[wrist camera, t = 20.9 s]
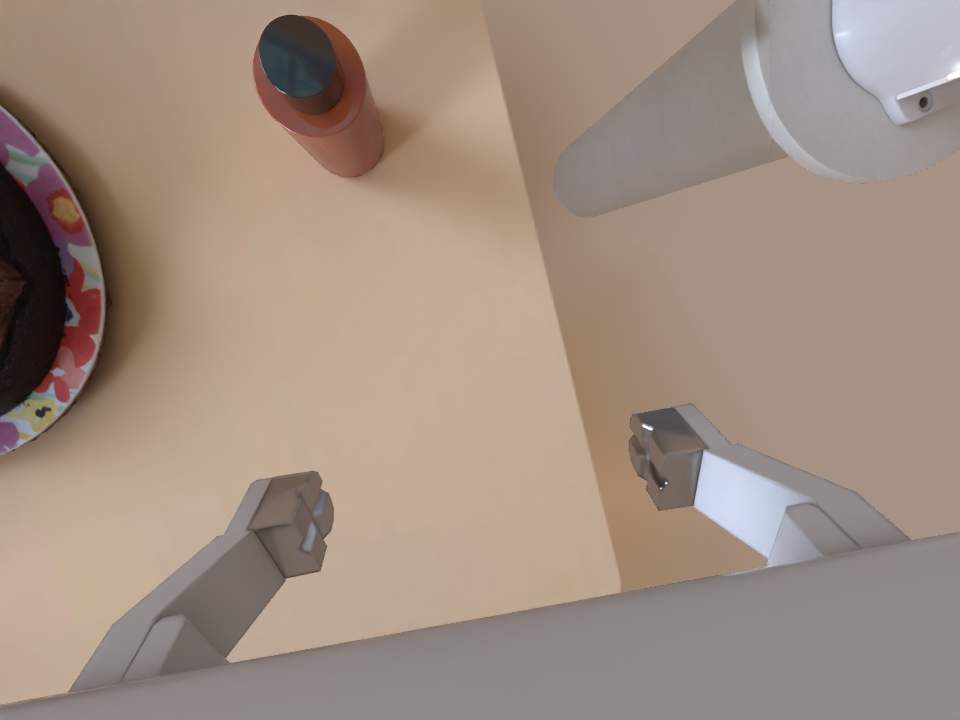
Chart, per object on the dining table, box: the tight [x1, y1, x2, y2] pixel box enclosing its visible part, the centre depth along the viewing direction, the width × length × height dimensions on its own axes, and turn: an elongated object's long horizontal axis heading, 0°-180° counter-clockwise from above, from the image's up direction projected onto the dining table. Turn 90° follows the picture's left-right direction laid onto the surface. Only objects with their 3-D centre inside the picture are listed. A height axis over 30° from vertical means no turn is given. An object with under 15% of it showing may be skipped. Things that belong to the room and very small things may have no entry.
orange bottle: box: [253, 15, 384, 177], centre depth 23 cm, size 5×5×11 cm
